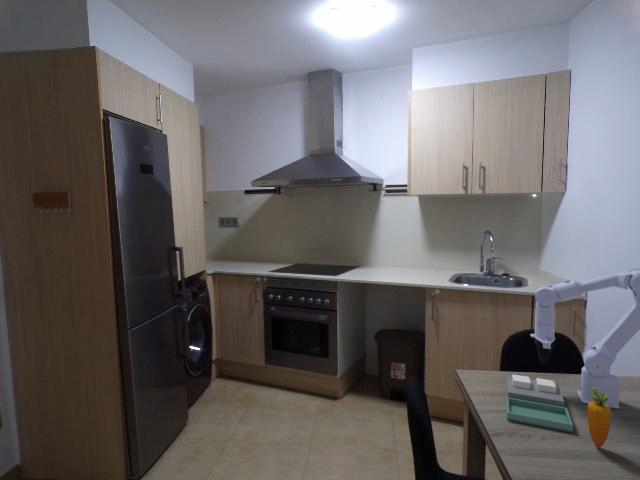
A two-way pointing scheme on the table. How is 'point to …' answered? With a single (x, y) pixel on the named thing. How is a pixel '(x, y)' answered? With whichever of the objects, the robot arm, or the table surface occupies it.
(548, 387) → the tile
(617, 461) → the table surface
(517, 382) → the tile
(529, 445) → the table surface
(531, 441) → the table surface
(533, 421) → the box
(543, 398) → the board
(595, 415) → the carrot
